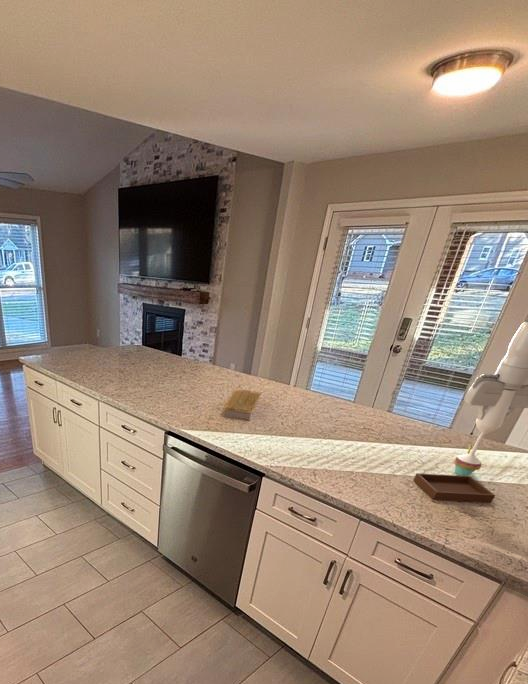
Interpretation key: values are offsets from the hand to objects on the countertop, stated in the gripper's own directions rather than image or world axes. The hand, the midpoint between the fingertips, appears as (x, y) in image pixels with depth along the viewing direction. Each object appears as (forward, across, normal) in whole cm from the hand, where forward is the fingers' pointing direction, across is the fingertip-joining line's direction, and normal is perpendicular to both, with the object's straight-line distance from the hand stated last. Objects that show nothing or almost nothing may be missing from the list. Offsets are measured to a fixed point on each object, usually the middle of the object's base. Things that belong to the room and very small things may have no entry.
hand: (490, 419), depth 131 cm
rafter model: (+27, -62, +79) cm, 104 cm away
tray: (+27, 0, +1) cm, 27 cm away
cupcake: (+27, +13, +16) cm, 34 cm away
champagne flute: (+14, 0, 0) cm, 14 cm away
